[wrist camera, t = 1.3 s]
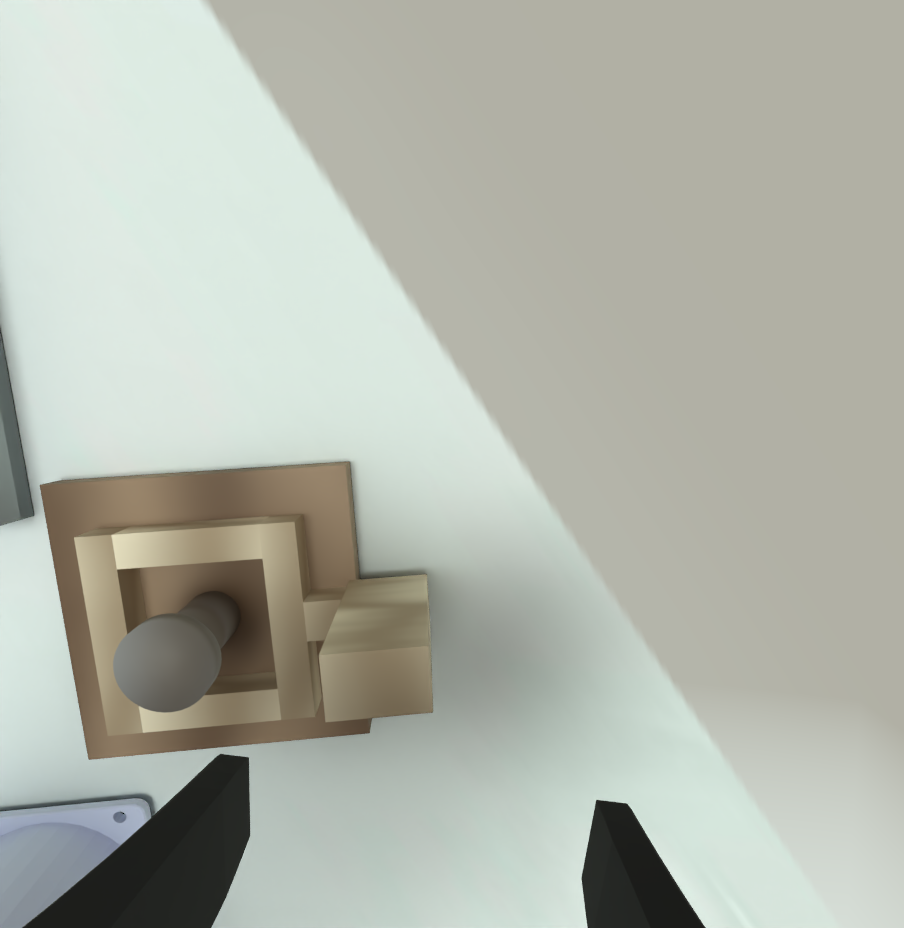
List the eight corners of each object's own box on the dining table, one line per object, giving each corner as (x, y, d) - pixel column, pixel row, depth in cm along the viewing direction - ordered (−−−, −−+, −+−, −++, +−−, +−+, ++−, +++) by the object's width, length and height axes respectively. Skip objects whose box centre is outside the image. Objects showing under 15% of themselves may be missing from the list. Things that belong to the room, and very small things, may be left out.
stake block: (105, 741, 20) (10, 843, 15) (60, 480, 18) (-60, 506, 14) (372, 716, 20) (357, 807, 16) (349, 461, 19) (326, 480, 14)
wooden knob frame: (127, 714, 19) (6, 844, 13) (97, 528, 18) (-48, 585, 12) (434, 686, 19) (439, 799, 14) (422, 505, 18) (421, 549, 13)
